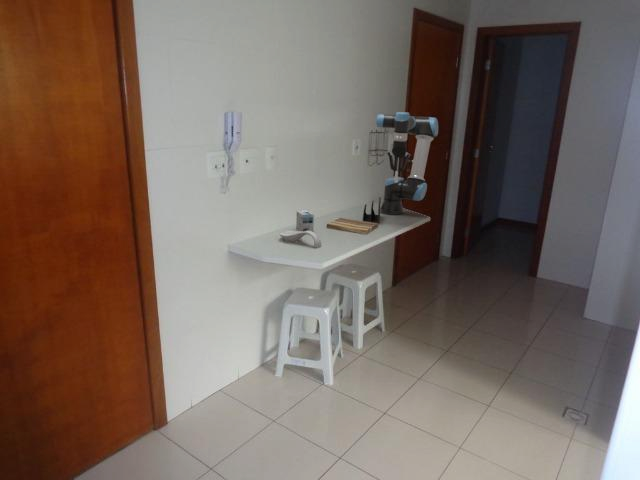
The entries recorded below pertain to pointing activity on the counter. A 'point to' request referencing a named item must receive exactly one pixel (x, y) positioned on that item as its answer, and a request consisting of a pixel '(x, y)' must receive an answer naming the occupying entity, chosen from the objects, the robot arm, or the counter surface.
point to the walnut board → (358, 222)
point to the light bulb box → (304, 220)
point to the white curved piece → (300, 236)
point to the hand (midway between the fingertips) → (396, 182)
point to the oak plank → (349, 227)
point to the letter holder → (372, 214)
